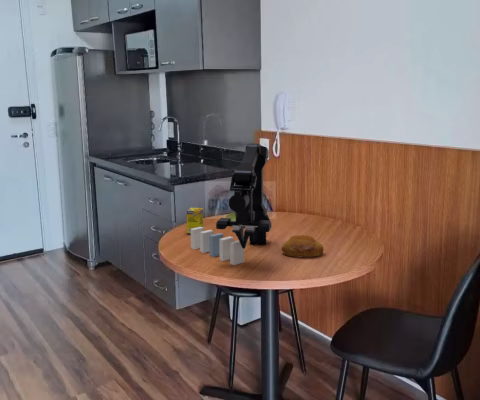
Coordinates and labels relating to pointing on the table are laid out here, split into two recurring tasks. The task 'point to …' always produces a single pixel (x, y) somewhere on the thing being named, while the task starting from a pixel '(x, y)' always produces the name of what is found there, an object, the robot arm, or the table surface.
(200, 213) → the supplement box
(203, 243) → the domino
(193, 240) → the domino
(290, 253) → the croissant
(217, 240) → the domino
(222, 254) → the domino
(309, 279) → the table surface
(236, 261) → the domino
